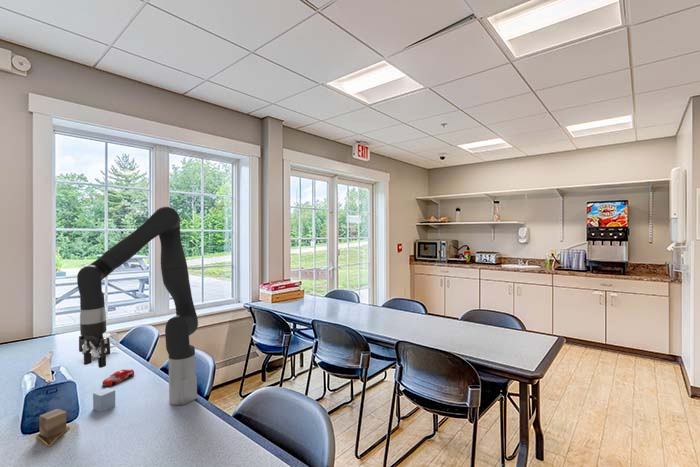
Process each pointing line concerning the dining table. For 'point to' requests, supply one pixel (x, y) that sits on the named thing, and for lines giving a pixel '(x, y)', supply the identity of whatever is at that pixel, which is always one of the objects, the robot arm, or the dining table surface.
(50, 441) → the shard
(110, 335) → the cup
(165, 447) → the dining table surface
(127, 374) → the race car
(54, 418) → the walnut block
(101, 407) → the slate block
